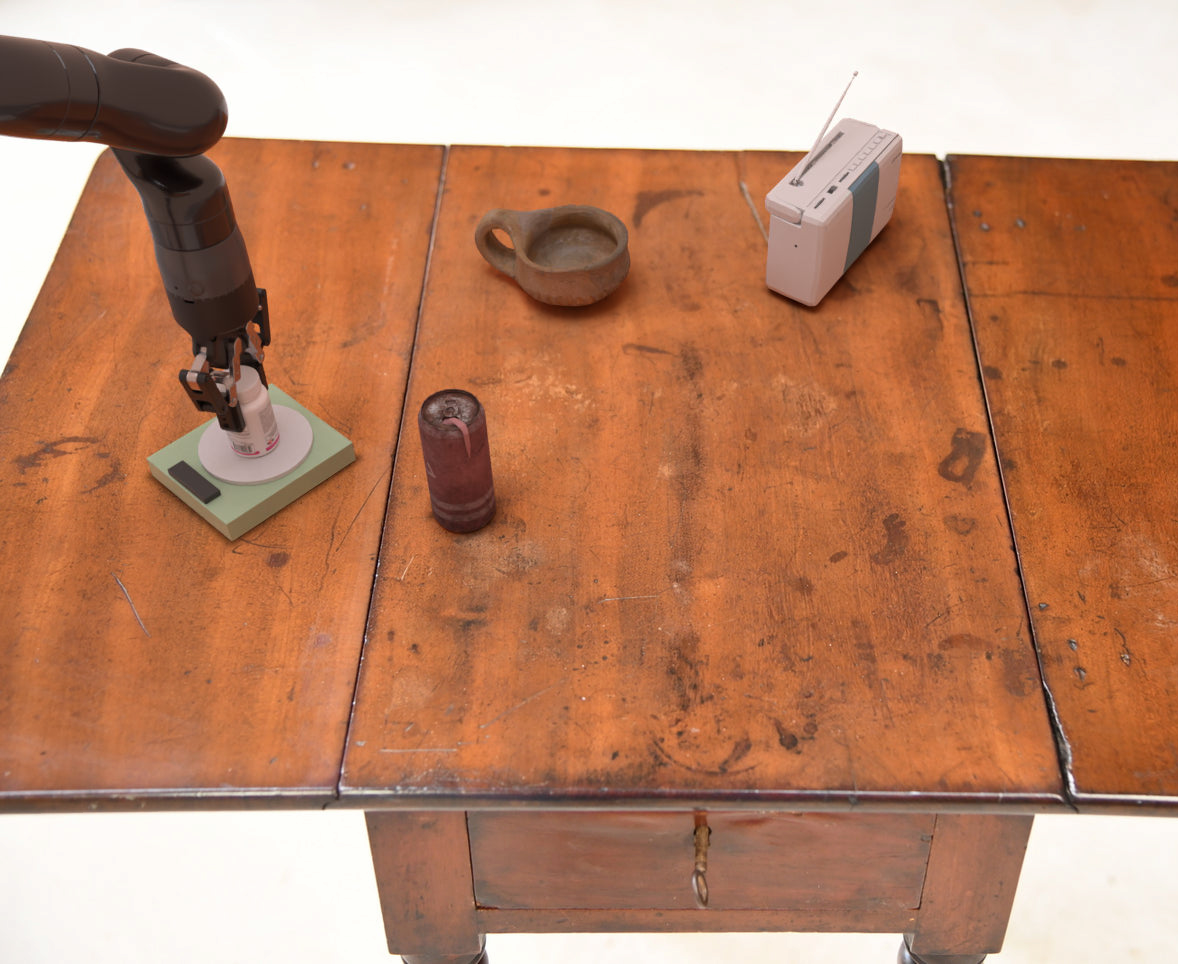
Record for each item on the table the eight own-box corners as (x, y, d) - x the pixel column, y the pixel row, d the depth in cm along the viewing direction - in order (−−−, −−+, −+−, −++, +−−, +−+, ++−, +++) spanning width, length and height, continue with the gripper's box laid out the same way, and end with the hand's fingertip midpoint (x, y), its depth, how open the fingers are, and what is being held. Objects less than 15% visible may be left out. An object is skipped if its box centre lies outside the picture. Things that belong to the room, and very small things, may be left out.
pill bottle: (268, 419, 140) (251, 355, 134) (288, 446, 138) (271, 383, 132) (222, 437, 138) (203, 374, 132) (242, 465, 136) (223, 402, 130)
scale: (232, 542, 133) (224, 519, 131) (152, 475, 138) (143, 453, 136) (356, 459, 141) (351, 437, 139) (276, 400, 147) (270, 377, 144)
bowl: (464, 318, 155) (459, 232, 150) (485, 272, 167) (481, 191, 162) (625, 325, 155) (625, 239, 150) (634, 278, 167) (634, 197, 162)
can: (458, 546, 134) (443, 442, 124) (421, 509, 137) (403, 404, 127) (510, 516, 137) (499, 412, 127) (472, 480, 140) (458, 376, 130)
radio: (816, 317, 160) (833, 168, 145) (754, 292, 162) (764, 144, 148) (894, 226, 172) (916, 81, 158) (835, 205, 175) (851, 60, 161)
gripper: (201, 216, 128) (240, 357, 140) (127, 313, 118) (175, 455, 130) (279, 228, 127) (311, 368, 139) (211, 326, 117) (252, 468, 130)
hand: (245, 410), depth 135 cm, fingers closed on pill bottle, 4 cm apart
